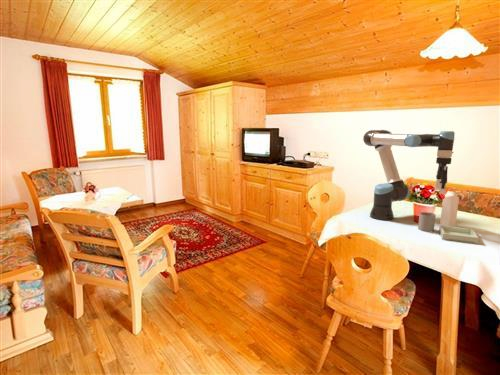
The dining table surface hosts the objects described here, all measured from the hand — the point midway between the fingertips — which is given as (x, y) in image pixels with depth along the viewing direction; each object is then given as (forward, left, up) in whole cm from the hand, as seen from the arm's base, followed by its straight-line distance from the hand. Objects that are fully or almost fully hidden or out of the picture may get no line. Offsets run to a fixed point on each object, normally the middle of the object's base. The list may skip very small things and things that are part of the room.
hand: (439, 191), depth 180 cm
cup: (-6, -8, -23) cm, 25 cm away
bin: (+9, -15, -23) cm, 29 cm away
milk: (+7, +8, -23) cm, 25 cm away
